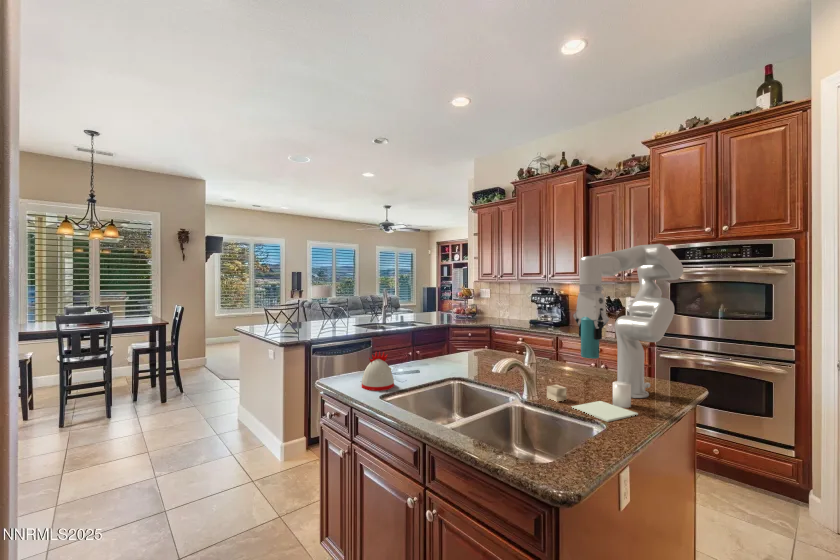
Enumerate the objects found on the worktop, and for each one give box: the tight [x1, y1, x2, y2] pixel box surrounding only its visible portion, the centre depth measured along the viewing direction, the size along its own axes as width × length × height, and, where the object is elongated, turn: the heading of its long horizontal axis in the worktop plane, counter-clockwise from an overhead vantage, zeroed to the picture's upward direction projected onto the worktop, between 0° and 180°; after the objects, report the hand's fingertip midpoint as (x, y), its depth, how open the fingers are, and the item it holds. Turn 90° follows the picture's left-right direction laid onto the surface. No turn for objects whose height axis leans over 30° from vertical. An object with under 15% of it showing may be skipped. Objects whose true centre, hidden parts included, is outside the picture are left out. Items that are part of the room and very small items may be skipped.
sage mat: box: [570, 400, 639, 423], centre depth 134 cm, size 15×15×1 cm
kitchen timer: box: [361, 351, 395, 392], centre depth 166 cm, size 14×14×15 cm
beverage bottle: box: [579, 317, 601, 360], centre depth 142 cm, size 6×7×20 cm
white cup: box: [612, 380, 632, 409], centre depth 141 cm, size 6×6×8 cm
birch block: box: [546, 384, 567, 403], centre depth 148 cm, size 5×5×5 cm
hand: (590, 337), depth 142 cm, fingers closed on beverage bottle, 6 cm apart
